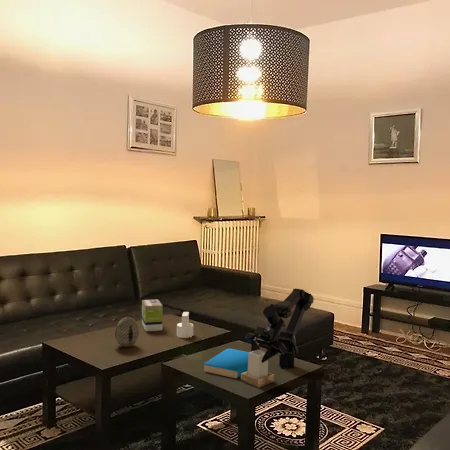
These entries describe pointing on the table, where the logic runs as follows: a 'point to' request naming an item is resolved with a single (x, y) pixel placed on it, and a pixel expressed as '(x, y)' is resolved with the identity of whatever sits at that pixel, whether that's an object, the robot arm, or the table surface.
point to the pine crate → (255, 381)
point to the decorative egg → (127, 332)
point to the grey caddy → (257, 365)
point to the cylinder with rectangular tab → (185, 327)
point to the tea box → (152, 315)
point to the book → (228, 363)
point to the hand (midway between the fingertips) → (256, 360)
